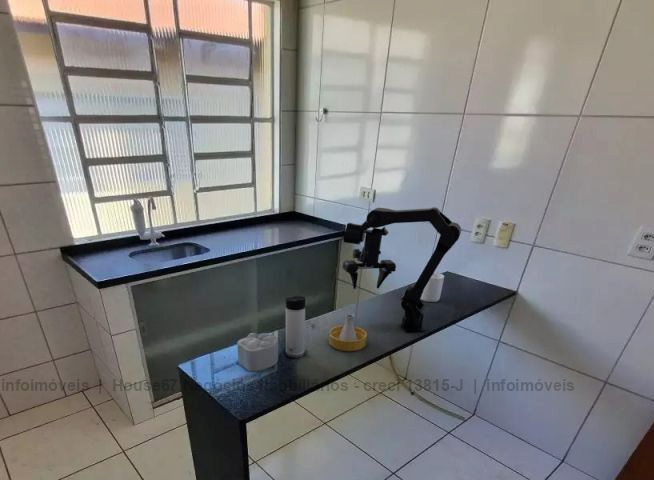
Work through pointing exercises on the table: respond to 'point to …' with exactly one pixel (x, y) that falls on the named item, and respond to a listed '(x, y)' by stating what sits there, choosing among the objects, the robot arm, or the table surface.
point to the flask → (348, 329)
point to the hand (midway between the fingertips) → (366, 288)
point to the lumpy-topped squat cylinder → (258, 351)
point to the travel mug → (295, 326)
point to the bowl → (347, 345)
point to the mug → (433, 288)
